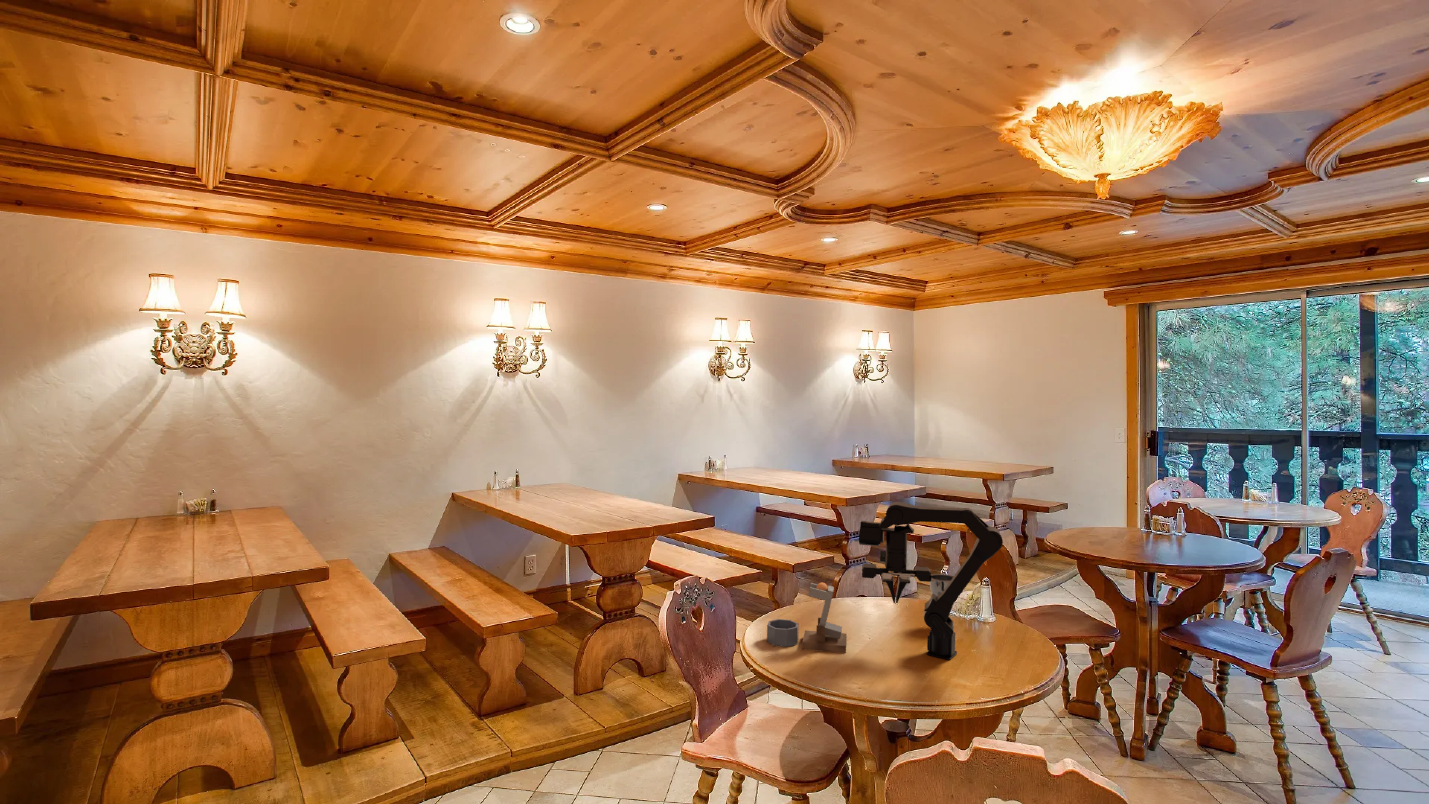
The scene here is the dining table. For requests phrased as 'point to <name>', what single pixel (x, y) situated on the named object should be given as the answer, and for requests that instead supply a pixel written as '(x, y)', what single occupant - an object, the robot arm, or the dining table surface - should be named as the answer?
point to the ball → (822, 587)
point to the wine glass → (939, 583)
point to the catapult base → (823, 641)
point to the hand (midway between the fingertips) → (895, 602)
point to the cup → (782, 632)
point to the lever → (826, 610)
